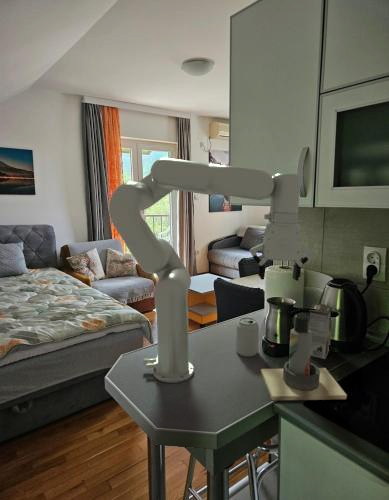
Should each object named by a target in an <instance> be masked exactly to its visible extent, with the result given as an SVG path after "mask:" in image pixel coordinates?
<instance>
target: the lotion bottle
mask: <svg viewBox="0 0 389 500" xmlns="http://www.w3.org/2000/svg"><path fill="white" fill-rule="evenodd" d="M289 334H290V335H289V352H288V353H289V355H288V357H289V359H288V361H289V371H291V372H292V373H294V374H297V375H301V376H309V374H310V363H311V357H312V356H311V338H312V333H311V331H309V314H306V313H303V312H299V313H295V314H294V322H293V328H291V329H290V333H289Z"/></svg>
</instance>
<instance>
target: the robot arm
mask: <svg viewBox="0 0 389 500" xmlns="http://www.w3.org/2000/svg"><path fill="white" fill-rule="evenodd" d="M301 180H302V179H301V176H300V175H299V174H297V173H290V172H289V173H288V172H287V173H285V172H283V173H281V172H280V173H276V174H270V173H269V172H267V171H265V170H260V169H254V168H246V167H240V166H232V165H231V166H229V165H222V164H221V165H220V164H218V163H217V164H216V163H209V162H200V161H193V160H185V159H177V158H170V157H160V158H158V159H156V160H155V161H154V162H153V164H152V165H151V167H150V173H148V174H147V175H146V176H144V177H143V178H142V179H140V180H139V181H126V182H123V183H121V184H120V185H118V186H117V187H116V188H115V189H114V191H113V193H112V194H111V196H110V199H109V204H108V213H109V217H110V221H111V223H112V225H113V227H114V228H115V230H116V232H117V233H118V235H119V236H120V237H121V239H122V241H123V242H124V244H125V246H126V247H127V248H128V250H129V252H130V253H131V255H132V257H134V259H135V262H136V264H137V265H138V266H139V267H140V269H141V270H142V271H143V272H145V273H146V274H151V275H154V274H155V275H156V276H157V278H158V280H157V282H156V283H155V285H154V293H153V294H154V303H155V304H154V305H155V311H156V312H155V313H156V315H155V316H156V334H157V335H156V341H157V343H156V345H157V356H156V357H154V358H143V366H146V369H152V374H153V377H154V378H155V379H156V380H159V381H160V382H163V383H167V384H168V383H169V384H173V383H174V384H175V383H181V382H185V381H186V380H189V379H190V378H191V377H192V376H193V375H194V372H195V371H194V370H195V369H194V365H193V364H192V363H191V362H189V360H190V359H189V356H190V353H189V345H190V344H189V343H190V342H189V310H188V309H189V308H188V307H189V306H188V293H189V290H190V288H191V283H192V279H191V278H192V277H191V274H190V273H189V271H188V268H187V267H186V266H185V264H184V263H183V261H182V259H181V258H180V256H179V254H178V253H177V252H176V251H175V249H174V248H173V246H172V244H170V242H169V241H167V240H166V239H164V238H161V237H160V238H159V237H157V236H156V235H155V233H154V232H153V230H152V229H151V227H150V226H149V224H148V223H147V222H146V220H145V219H144V218H143V215H141V211H145V210H147V209H150V208H151V207H152V206H154V205H155V204H156V203H158V202H159V201H160V200H162V199H163V198H165V197H166V196H168V195H170V193H172V192H174V191H179V192H187V193H188V192H189V193H193V194H200V195H209V196H215V195H218V196H226V197H235V198H240V199H241V198H242V199H248V200H254V201H255V200H256V201H262V200H265V199H267V200H268V199H269V200H270V207H269V212H268V213H267V214H266V213H265V214H264V215H263V218H264V220H267V221H268V222H267V223H266V224H265V229H264V232H263V233H264V234H263V238H262V240H263V241H262V243H260V244H257V245H255V246H254V247H251V248H250V249H249V252H250V254H251V257H252V258H253V260H254V261H255V262H256V264H257V265H258V268H257V275H258V277H259V278H260V280H264V279H265V274H266V271H265V270H266V266H265V263H266V262H268V261H287V262H290V261H291V262H293V263H295V264H294V265H293V269H292V279H293V280H294V281H296V282H298V281H299V278H300V277H301V274H302V273H301V272H302V267H303V265H305V263H307V262H308V261H309V258H310V257H311V256H312V254H313V252H312V251H311V250H310V249H308V248H307V247H305V246H303V245H302V231H301V229H302V228H301V225H300V224H298V216H299V205H300V192H301V190H300V189H301ZM260 250H261V257H258V254H257V252H259V251H260ZM302 252H303V253H304V254H303V256H302V257H301V255H302Z"/></svg>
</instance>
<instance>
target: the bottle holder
mask: <svg viewBox="0 0 389 500" xmlns="http://www.w3.org/2000/svg"><path fill="white" fill-rule="evenodd" d="M260 374H261V377H262V379H263V382H264V383H265V386H266V389H267V391H268V394H269V396H270V398H271V400H272V401H318V400H319V401H320V400H322V401H325V400H327V401H328V400H329V401H331V400H347V397H348V394H347V393H346V392H345V391H344V389H343V388H342V387H341V386H340V384H339V383H338V382H337V381H336V379H335V378H334V377H333V376H332V375H331V373H330V372H329V371H328V370H327V368H326V367H318V366H317V365H316V364H315V363H312V362H310V374H309V376H301V375H297V374H294V373H292V372H291V371H289V360H288V361H285V363H284V365H283V367H282V368H260Z"/></svg>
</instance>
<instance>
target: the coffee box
mask: <svg viewBox="0 0 389 500" xmlns="http://www.w3.org/2000/svg"><path fill="white" fill-rule="evenodd" d="M326 305H327V304H326V303H325V304H324V303H319V302H313V304H312V305H311V307H310V309H315V310H310V309H309V310H308V316H309V331H311V333H312V338H311V356H310V357H315V358H320V359H322V360H326V359H327V357H328V353H329V352H330V349H329V345H330V346H331V337H330V331H331V332H332V320H331V311H332V312H333V306H332V307H329V306H330V305H329V306H326Z"/></svg>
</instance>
